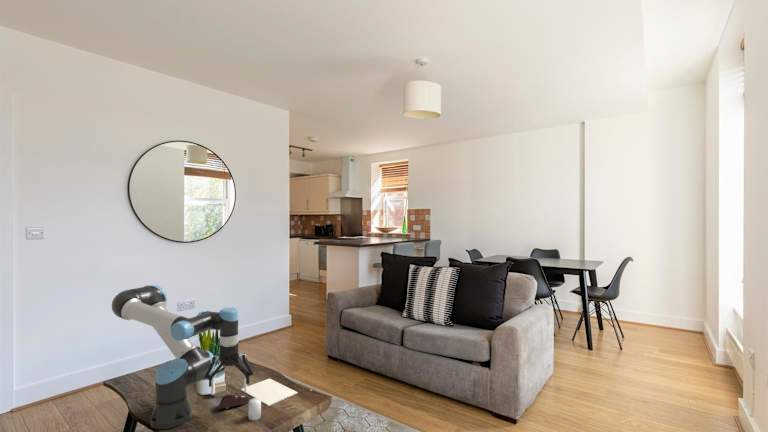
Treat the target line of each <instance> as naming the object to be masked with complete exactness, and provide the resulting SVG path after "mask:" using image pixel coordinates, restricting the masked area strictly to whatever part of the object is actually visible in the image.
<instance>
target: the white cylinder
mask: <svg viewBox="0 0 768 432" xmlns="http://www.w3.org/2000/svg"><path fill="white" fill-rule="evenodd" d="M261 417H262V402H261V399H260V398H253V397H252V398H250V400H249V402H248V418H247V419H248V420H249V421H257V420H259V419H261Z"/></svg>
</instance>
